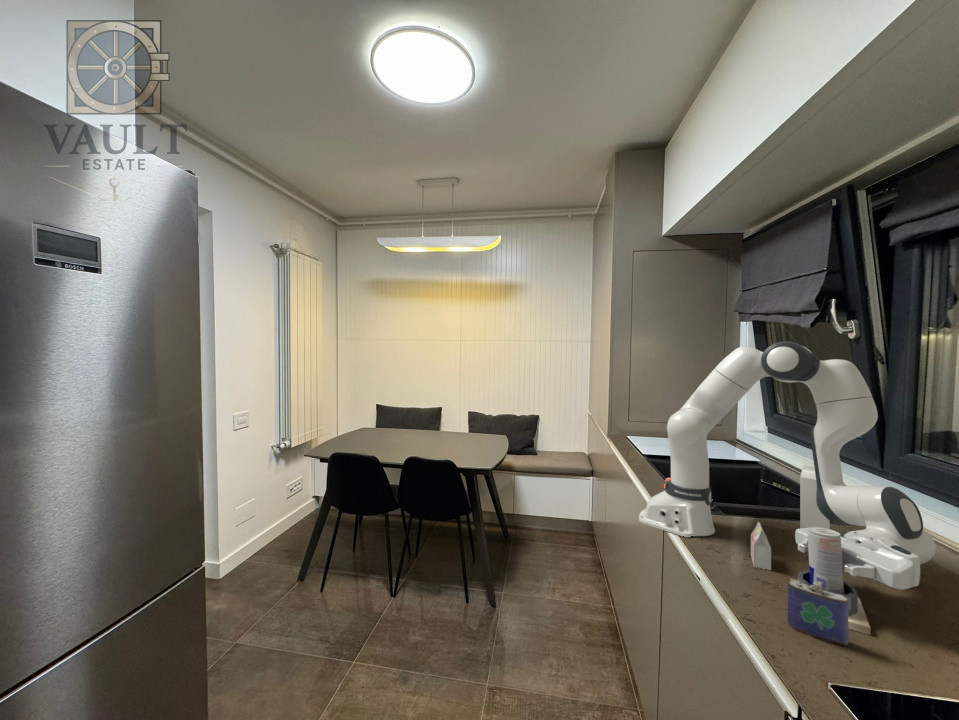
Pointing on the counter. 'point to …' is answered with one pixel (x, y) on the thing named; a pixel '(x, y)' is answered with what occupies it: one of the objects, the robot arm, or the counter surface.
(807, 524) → the milk
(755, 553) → the small drink carton
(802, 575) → the collar stand
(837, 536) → the beverage can
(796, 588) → the flask
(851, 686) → the counter surface
